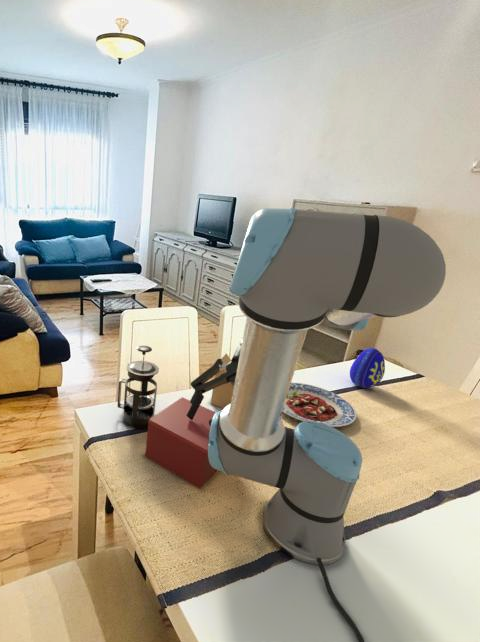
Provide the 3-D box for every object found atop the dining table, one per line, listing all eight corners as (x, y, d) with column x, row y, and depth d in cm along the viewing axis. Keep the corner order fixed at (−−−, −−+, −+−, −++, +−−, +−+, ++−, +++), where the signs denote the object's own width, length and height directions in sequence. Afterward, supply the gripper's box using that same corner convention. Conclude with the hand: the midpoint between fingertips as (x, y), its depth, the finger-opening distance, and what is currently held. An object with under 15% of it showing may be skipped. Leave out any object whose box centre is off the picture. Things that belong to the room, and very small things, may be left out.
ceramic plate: (374, 427, 115) (377, 419, 114) (301, 436, 109) (303, 427, 108) (315, 385, 138) (317, 378, 137) (251, 390, 132) (253, 383, 131)
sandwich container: (258, 420, 115) (268, 376, 109) (210, 403, 122) (217, 361, 117) (265, 408, 122) (275, 365, 116) (218, 392, 129) (225, 352, 124)
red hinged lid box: (230, 457, 99) (236, 425, 95) (200, 489, 88) (206, 453, 84) (177, 430, 108) (181, 400, 104) (145, 456, 97) (148, 422, 94)
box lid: (239, 426, 94) (243, 406, 92) (209, 455, 84) (213, 433, 81) (181, 400, 104) (184, 381, 102) (148, 422, 94) (150, 402, 91)
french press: (159, 415, 115) (167, 344, 106) (151, 432, 107) (159, 358, 98) (122, 406, 118) (127, 337, 110) (112, 422, 110) (116, 349, 101)
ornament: (362, 394, 134) (376, 355, 128) (339, 382, 141) (351, 345, 136) (383, 389, 138) (397, 351, 132) (360, 378, 146) (372, 341, 140)
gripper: (307, 376, 89) (269, 459, 84) (211, 343, 104) (174, 412, 99) (305, 363, 83) (264, 451, 79) (203, 330, 98) (164, 403, 93)
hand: (214, 430), depth 89 cm, fingers open, 13 cm apart
